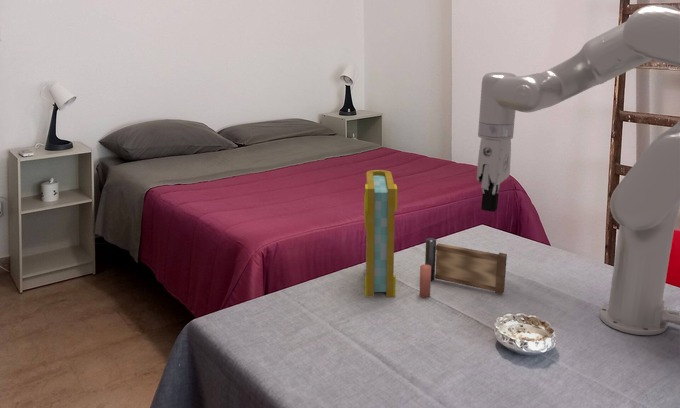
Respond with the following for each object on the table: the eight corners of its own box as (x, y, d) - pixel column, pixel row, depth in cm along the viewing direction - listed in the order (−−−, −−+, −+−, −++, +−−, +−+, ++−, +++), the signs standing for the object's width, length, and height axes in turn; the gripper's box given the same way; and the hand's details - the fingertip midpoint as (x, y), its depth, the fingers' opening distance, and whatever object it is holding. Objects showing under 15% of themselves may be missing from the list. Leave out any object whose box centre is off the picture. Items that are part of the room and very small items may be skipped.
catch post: (431, 294, 138) (432, 265, 136) (427, 298, 136) (428, 269, 134) (421, 292, 139) (422, 263, 137) (417, 296, 137) (418, 267, 135)
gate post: (436, 278, 147) (437, 239, 144) (432, 282, 145) (433, 242, 142) (427, 276, 148) (428, 237, 145) (422, 280, 146) (424, 240, 143)
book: (395, 296, 137) (397, 188, 130) (365, 296, 138) (365, 188, 130) (390, 267, 154) (392, 169, 146) (363, 267, 154) (364, 170, 146)
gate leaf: (504, 292, 138) (506, 254, 136) (501, 294, 137) (504, 256, 134) (437, 277, 146) (438, 241, 143) (434, 280, 145) (436, 243, 142)
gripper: (502, 137, 127) (495, 222, 132) (522, 126, 139) (514, 204, 145) (467, 134, 131) (461, 216, 136) (489, 123, 143) (483, 199, 148)
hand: (489, 209), depth 140 cm, fingers closed
